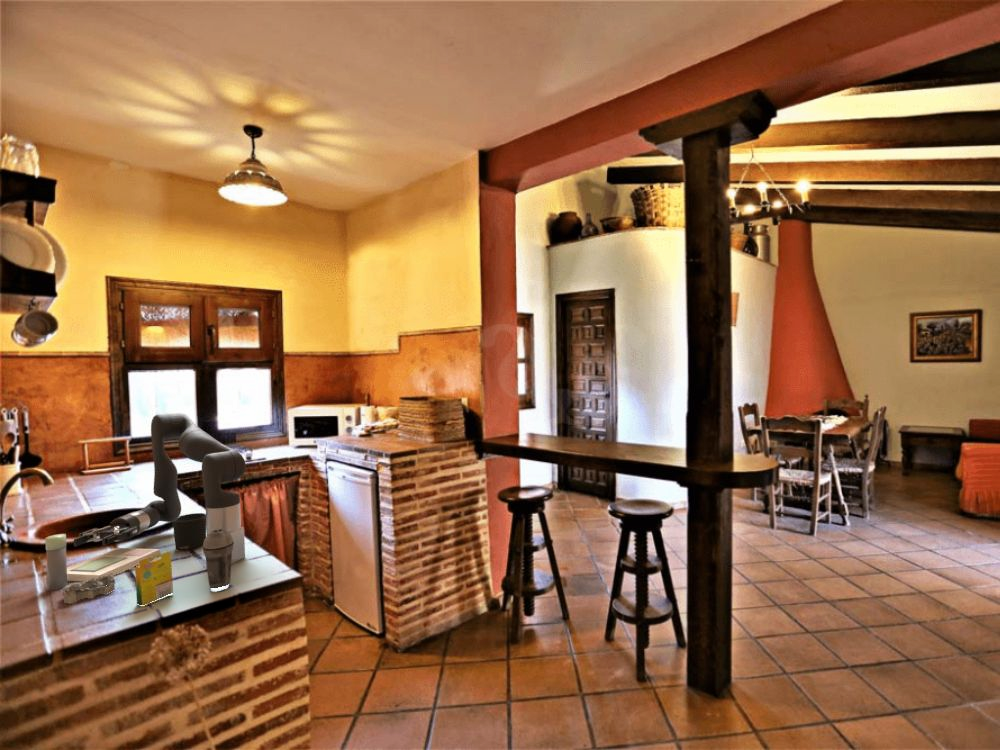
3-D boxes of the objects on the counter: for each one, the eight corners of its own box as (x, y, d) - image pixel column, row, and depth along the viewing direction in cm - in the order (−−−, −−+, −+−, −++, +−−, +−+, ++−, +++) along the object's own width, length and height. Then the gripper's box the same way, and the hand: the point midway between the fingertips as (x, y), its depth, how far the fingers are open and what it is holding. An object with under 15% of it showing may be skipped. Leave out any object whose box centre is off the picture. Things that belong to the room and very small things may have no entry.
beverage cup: (203, 597, 127) (200, 519, 127) (205, 586, 134) (202, 512, 133) (235, 590, 131) (232, 514, 130) (235, 580, 137) (232, 508, 137)
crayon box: (168, 593, 130) (166, 549, 130) (174, 595, 129) (172, 550, 129) (135, 605, 124) (134, 558, 124) (141, 607, 122) (140, 560, 122)
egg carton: (62, 607, 125) (61, 591, 125) (63, 597, 130) (62, 582, 130) (116, 593, 132) (115, 578, 132) (114, 584, 137) (113, 570, 137)
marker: (72, 584, 138) (69, 534, 138) (56, 591, 134) (53, 539, 134) (59, 583, 139) (57, 533, 139) (43, 590, 135) (41, 538, 135)
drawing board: (160, 555, 158) (160, 548, 158) (99, 582, 139) (99, 574, 139) (117, 553, 161) (117, 547, 161) (52, 580, 142) (51, 572, 142)
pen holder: (168, 549, 164) (167, 519, 164) (198, 540, 172) (197, 511, 172) (183, 554, 159) (181, 523, 159) (213, 544, 167) (211, 515, 167)
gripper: (107, 514, 163) (64, 530, 147) (151, 513, 163) (112, 529, 147) (108, 537, 163) (65, 555, 147) (152, 536, 163) (113, 554, 147)
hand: (89, 542), depth 147 cm, fingers open, 8 cm apart
